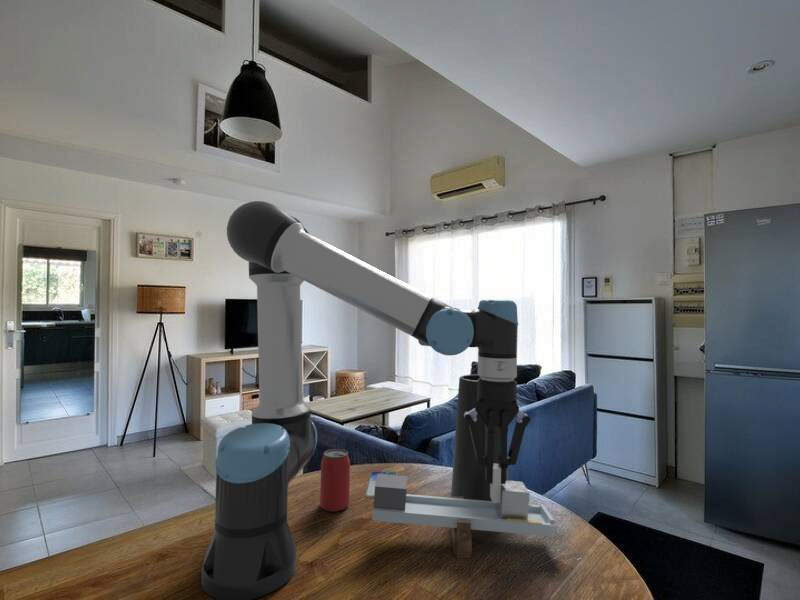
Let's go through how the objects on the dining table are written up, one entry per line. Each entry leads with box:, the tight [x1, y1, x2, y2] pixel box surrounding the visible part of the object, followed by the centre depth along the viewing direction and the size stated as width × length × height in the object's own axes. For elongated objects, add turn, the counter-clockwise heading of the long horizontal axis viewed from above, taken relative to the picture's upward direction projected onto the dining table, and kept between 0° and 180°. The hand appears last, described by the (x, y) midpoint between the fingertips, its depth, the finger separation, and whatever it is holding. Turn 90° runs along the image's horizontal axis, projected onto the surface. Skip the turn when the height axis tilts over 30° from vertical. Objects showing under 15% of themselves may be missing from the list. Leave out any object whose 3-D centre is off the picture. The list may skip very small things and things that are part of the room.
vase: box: [450, 374, 509, 501], centre depth 99 cm, size 14×14×29 cm
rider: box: [495, 480, 530, 520], centre depth 80 cm, size 5×5×6 cm
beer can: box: [319, 448, 351, 513], centre depth 94 cm, size 7×7×12 cm
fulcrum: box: [449, 496, 473, 559], centre depth 80 cm, size 3×12×6 cm, turn 179°
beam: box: [371, 474, 557, 537], centre depth 80 cm, size 34×8×6 cm, turn 89°
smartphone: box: [364, 471, 398, 499], centre depth 106 cm, size 7×1×15 cm
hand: (495, 499), depth 80 cm, fingers closed
